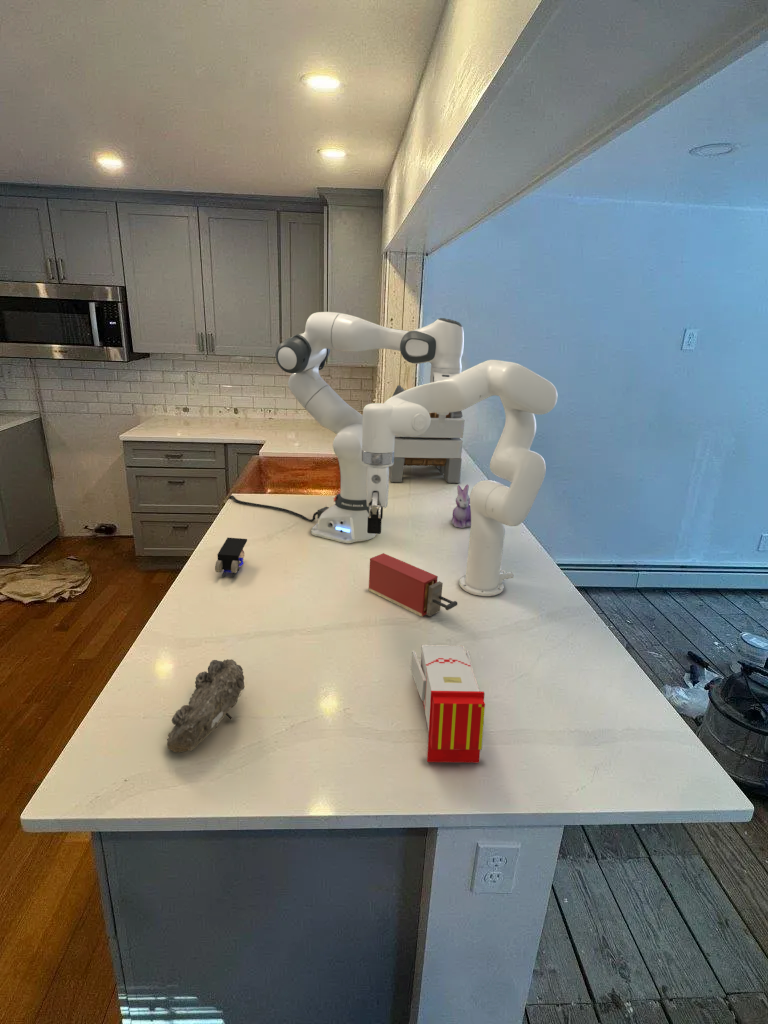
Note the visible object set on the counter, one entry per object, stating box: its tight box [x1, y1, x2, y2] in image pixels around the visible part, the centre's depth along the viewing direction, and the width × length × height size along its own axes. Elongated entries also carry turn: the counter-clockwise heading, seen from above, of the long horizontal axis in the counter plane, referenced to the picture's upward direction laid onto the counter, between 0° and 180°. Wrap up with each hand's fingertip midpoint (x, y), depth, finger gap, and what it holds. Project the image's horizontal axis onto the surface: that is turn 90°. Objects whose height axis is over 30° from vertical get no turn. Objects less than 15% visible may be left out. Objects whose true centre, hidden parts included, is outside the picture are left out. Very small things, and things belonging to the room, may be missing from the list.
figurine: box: [451, 484, 471, 529], centre depth 209 cm, size 9×10×15 cm
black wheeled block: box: [214, 537, 248, 578], centre depth 166 cm, size 7×8×15 cm
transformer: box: [389, 384, 465, 484], centre depth 268 cm, size 34×33×41 cm
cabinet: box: [368, 552, 439, 618], centre depth 153 cm, size 19×6×10 cm, turn 47°
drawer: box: [424, 580, 458, 617], centre depth 150 cm, size 24×4×8 cm, turn 47°
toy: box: [410, 644, 486, 764], centre depth 111 cm, size 12×13×30 cm
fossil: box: [166, 658, 245, 754], centre depth 106 cm, size 22×10×15 cm
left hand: (441, 424), depth 170 cm, fingers open, 8 cm apart
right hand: (375, 525), depth 138 cm, fingers open, 9 cm apart
